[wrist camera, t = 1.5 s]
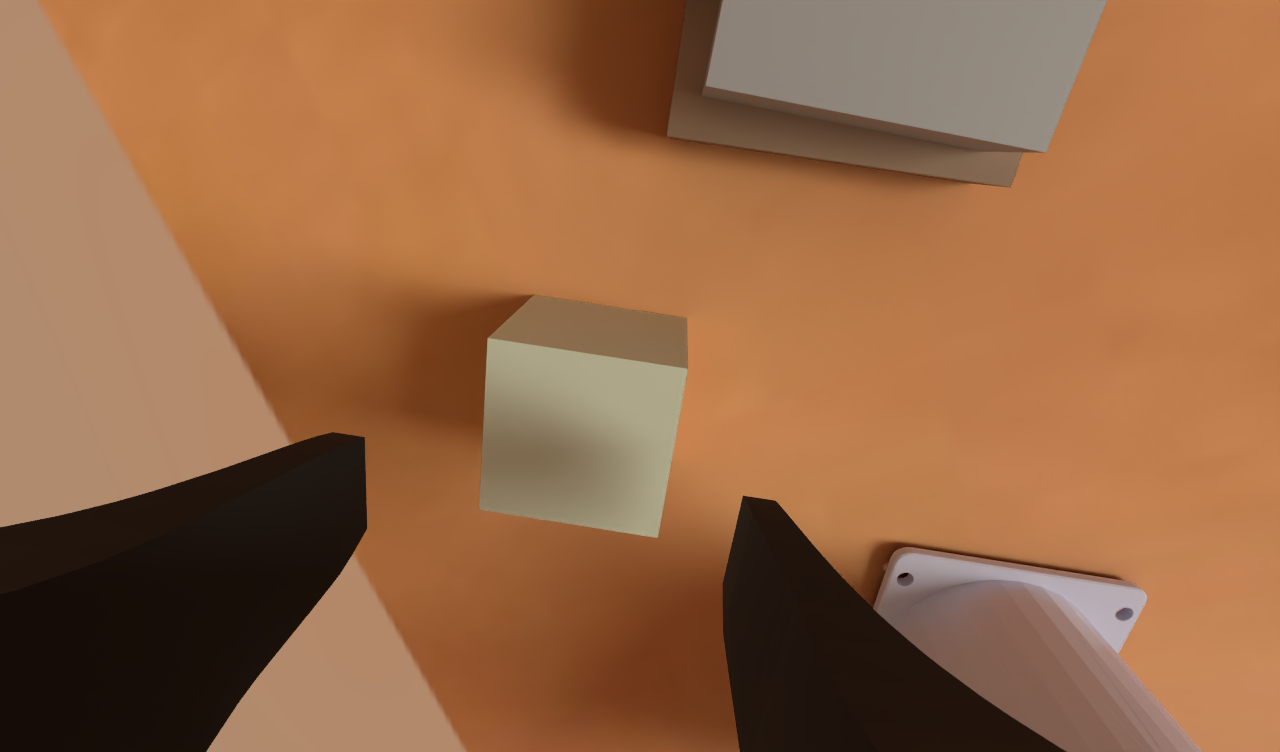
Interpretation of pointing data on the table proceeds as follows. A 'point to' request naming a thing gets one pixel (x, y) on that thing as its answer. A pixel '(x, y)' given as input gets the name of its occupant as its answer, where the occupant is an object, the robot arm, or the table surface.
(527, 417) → the sage cube
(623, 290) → the table surface
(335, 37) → the table surface
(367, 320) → the table surface
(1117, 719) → the robot arm
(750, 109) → the base block
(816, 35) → the middle block
